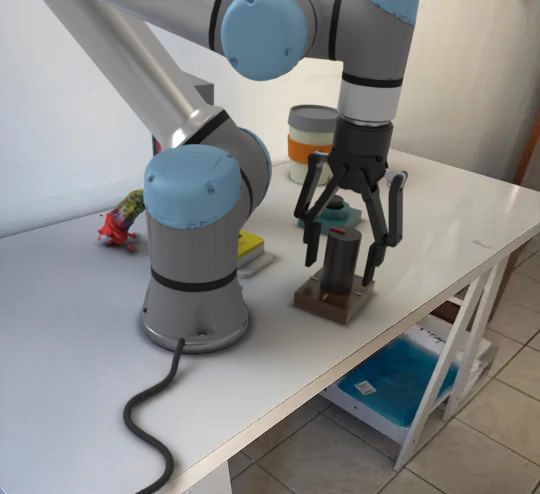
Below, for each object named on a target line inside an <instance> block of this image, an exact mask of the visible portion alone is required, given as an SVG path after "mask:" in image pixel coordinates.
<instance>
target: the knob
mask: <svg viewBox="0 0 540 494" xmlns="http://www.w3.org/2000/svg"><path fill="white" fill-rule="evenodd" d="M326 236H327V235H326ZM362 239H363V234H362V232H361V231H360V230H359V229H358V228H357V229H356V228H355V227H347V226H335V227H333V226H331V227H330V229H329V231H328V236H327V237H326V244H325V250H324V257H323V264H322V267H323V269H322V276H321V282H320V285H321V287H322V289H324V290H325V291H327V292H329V293H333V294H346V293H348V292H350V291H351V289H352V285H353V280H354V275H355V274H356V270H357V264H358V259H359V253H360V249H361V245H362Z"/></svg>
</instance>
